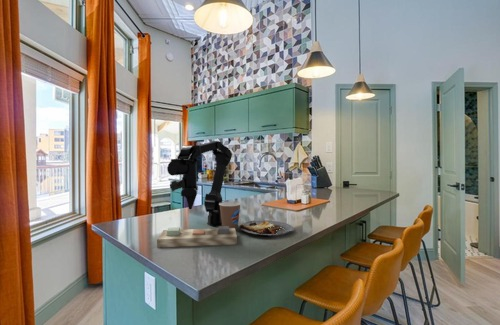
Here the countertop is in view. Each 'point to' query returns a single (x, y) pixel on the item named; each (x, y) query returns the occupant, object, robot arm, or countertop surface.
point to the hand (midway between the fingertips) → (190, 209)
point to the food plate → (265, 227)
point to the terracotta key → (199, 232)
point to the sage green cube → (173, 231)
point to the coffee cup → (230, 214)
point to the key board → (197, 238)
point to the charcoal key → (223, 229)
